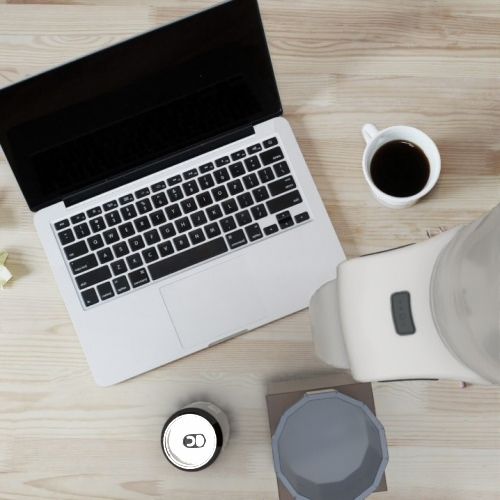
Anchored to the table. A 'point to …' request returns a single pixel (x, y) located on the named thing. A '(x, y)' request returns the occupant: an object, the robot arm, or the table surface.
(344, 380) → the plinth
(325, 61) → the table surface
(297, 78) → the table surface
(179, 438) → the beverage can
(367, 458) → the bowl
